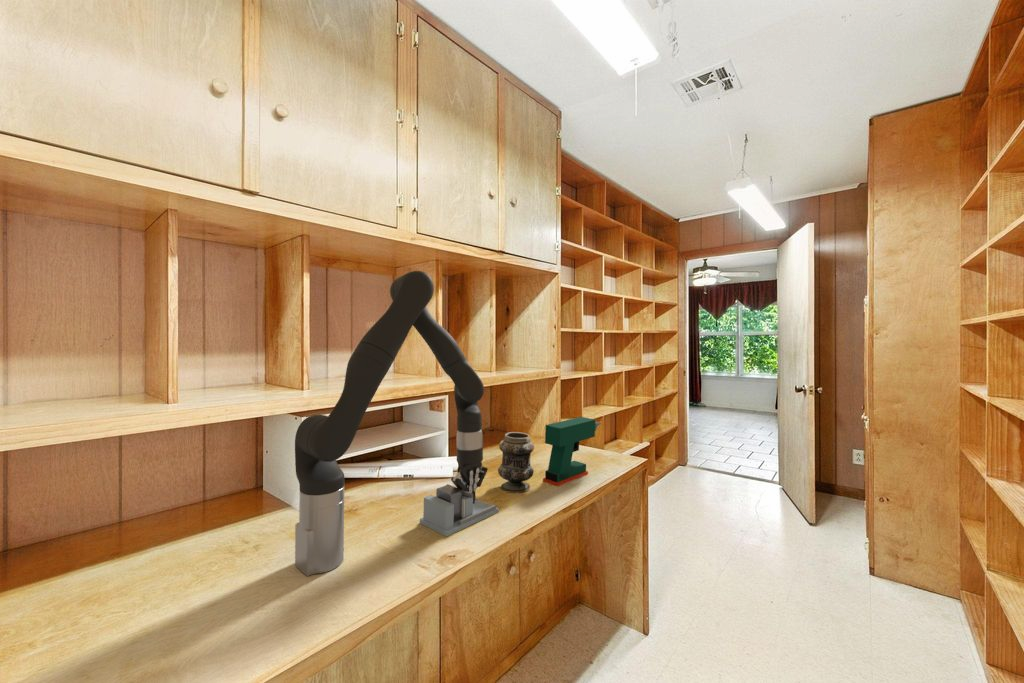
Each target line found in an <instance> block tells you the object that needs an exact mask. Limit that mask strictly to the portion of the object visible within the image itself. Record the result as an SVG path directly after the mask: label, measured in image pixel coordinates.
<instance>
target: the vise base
mask: <svg viewBox="0 0 1024 683" xmlns="http://www.w3.org/2000/svg"><path fill="white" fill-rule="evenodd" d="M499 510H500V509H499V507H497V505H496V504H490V503H487V502H485V501H482V500H479V499H477V498H475V503H474V504H473V514H472V515H470V516H468V517H466V518H464V519H462V518H461V520H459V521H457V522H455V523H453V521H454V504H452V503H449V502H447V501H445V500H442V499H440V498H438V497H436V495H433V494H429V495H427V496H424V497H423V515H422V516H423V517H421V518H419V524H421V525H422V526H425V527H427V528H429V529H431V530H432V531H435V532H437V533H438V534H440V535H442V536H444V537H448V536H451V535H453V534H455V533H457V532H459V531H462V530H463V529H466V528H468V527H470V526H472V525H474V524H476V523H478V522H481V521H483V520H485V519H487V518H489V517H491V516H493V515H495V514H497V513H499Z"/></svg>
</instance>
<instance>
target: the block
mask: <svg viewBox="0 0 1024 683" xmlns="http://www.w3.org/2000/svg"><path fill="white" fill-rule="evenodd" d="M449 485H450V484H449ZM449 485H447V484H446V485H443V486H440V487H438V488H436V490H435V492H436V495H435V497H438V498H440V499H442V500H445V501H447V502H449V503H452V504H454V521H453V523H455V522H457V521H459V520H461V518H462V490H459V489H457V487H456V488H454V487H455V486H454V487H452V486H453V485H451V486H449Z"/></svg>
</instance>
